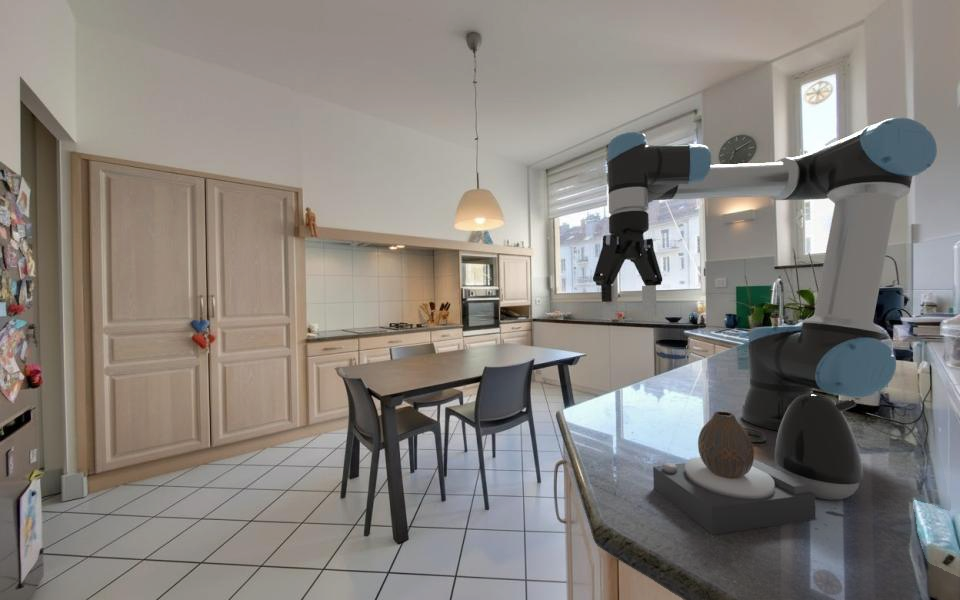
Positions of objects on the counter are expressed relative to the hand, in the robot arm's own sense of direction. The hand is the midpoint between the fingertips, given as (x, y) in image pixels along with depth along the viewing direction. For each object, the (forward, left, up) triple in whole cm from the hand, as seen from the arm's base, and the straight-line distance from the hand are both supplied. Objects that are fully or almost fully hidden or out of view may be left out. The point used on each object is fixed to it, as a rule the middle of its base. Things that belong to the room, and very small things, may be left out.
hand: (630, 317), depth 75 cm
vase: (-2, +21, -22) cm, 31 cm away
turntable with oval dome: (-2, +21, -27) cm, 34 cm away
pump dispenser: (-18, +21, -27) cm, 39 cm away
